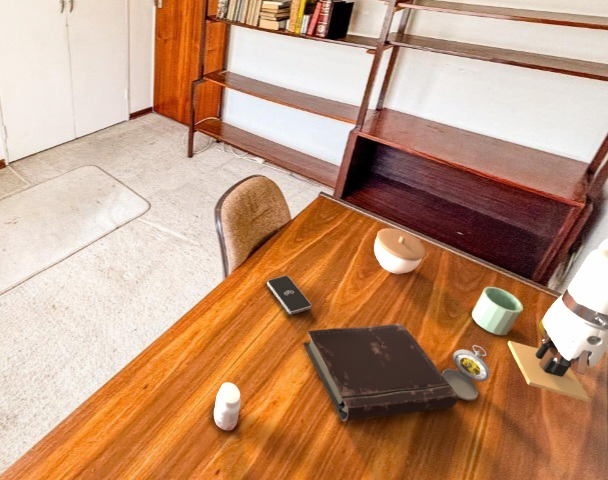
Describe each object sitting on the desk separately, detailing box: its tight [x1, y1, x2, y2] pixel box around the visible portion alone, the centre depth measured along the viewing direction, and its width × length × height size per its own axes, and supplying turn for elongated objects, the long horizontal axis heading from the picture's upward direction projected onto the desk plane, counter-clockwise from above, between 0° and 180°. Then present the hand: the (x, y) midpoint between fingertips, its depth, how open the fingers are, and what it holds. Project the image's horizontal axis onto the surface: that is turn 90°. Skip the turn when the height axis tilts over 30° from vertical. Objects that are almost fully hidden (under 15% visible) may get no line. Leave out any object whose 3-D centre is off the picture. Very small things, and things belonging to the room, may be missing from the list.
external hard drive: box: [266, 275, 312, 317], centre depth 108 cm, size 7×11×2 cm, turn 19°
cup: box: [471, 286, 524, 336], centre depth 102 cm, size 8×8×8 cm
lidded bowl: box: [373, 227, 426, 275], centre depth 119 cm, size 13×13×11 cm
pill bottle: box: [213, 382, 242, 431], centre depth 79 cm, size 5×5×8 cm
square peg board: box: [507, 340, 590, 403], centre depth 85 cm, size 10×10×6 cm
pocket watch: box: [441, 344, 491, 401], centre depth 87 cm, size 8×8×10 cm
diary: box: [302, 323, 459, 422], centre depth 89 cm, size 19×25×5 cm
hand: (548, 365), depth 86 cm, fingers closed on square peg board, 2 cm apart
